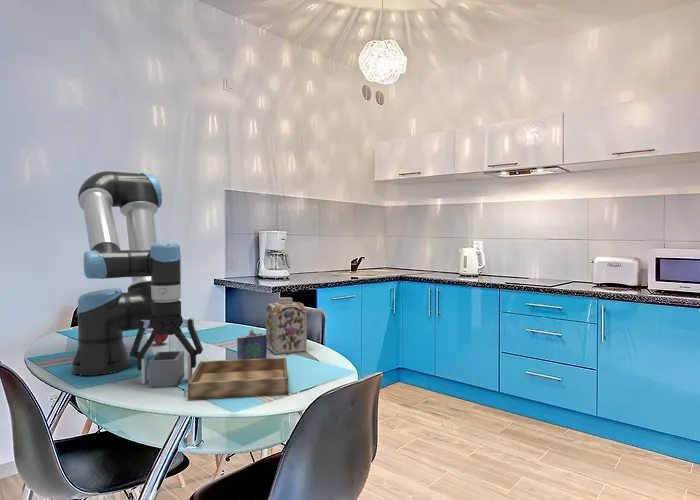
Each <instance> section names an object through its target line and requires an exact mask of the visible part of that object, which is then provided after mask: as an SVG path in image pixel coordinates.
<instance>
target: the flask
mask: <svg viewBox="0 0 700 500" xmlns="http://www.w3.org/2000/svg"><path fill="white" fill-rule="evenodd" d="M266 338H267V335H266V333H261V332H254V329H253V328H252V329H250V330H248V335H241V336H237V337H236V341H237V343H236V344H237V345H236V347H237V348H236V350H237V351H236V353H237V357H236V360H242V359H264V358H267V352H268V351H267V349H268V348H267V344H266V343H267V339H266Z"/></svg>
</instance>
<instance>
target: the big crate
mask: <svg viewBox="0 0 700 500" xmlns="http://www.w3.org/2000/svg"><path fill="white" fill-rule="evenodd" d="M187 382H188V383H187V401H195V400H197V401H199V400H213V399H229V398H230V399H232V398H245V397H246V398H247V397H248V398H249V397H264V396H265V397H266V396H280V395H289V373H288V365H287V357H268V358H264V359H242V360H237V359H222V360H202V361H199V363H198V365H196V367H195V370H194V372H192V377H191V379H190V380H189V381H187Z"/></svg>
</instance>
